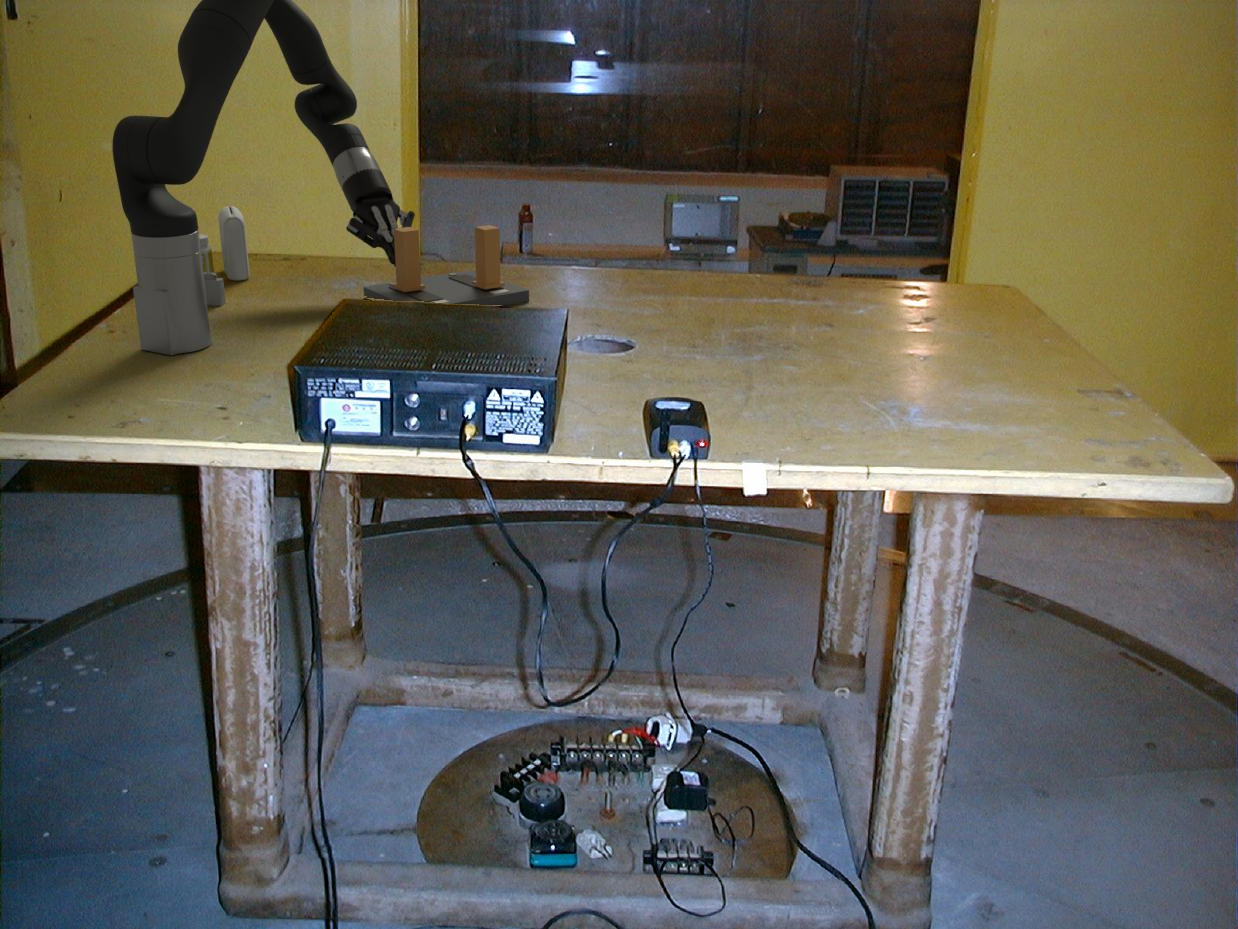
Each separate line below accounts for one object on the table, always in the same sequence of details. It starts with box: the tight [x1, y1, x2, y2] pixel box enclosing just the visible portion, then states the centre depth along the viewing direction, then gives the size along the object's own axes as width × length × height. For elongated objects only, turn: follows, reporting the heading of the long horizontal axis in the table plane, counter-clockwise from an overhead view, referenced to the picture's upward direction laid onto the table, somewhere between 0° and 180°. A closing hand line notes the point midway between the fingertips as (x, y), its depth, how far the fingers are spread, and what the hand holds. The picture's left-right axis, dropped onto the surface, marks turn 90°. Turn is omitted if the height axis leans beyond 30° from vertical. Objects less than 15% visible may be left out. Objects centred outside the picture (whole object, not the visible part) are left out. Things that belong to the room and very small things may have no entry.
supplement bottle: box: [199, 233, 215, 273], centre depth 216 cm, size 5×5×8 cm
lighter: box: [203, 272, 226, 307], centre depth 203 cm, size 7×2×8 cm, turn 83°
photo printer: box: [217, 205, 251, 281], centre depth 221 cm, size 10×4×12 cm, turn 21°
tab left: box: [393, 226, 425, 292], centre depth 205 cm, size 4×4×10 cm
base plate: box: [362, 269, 530, 306], centre depth 209 cm, size 22×18×2 cm
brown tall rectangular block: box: [472, 224, 505, 289], centre depth 208 cm, size 4×4×10 cm
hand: (401, 263), depth 207 cm, fingers closed
